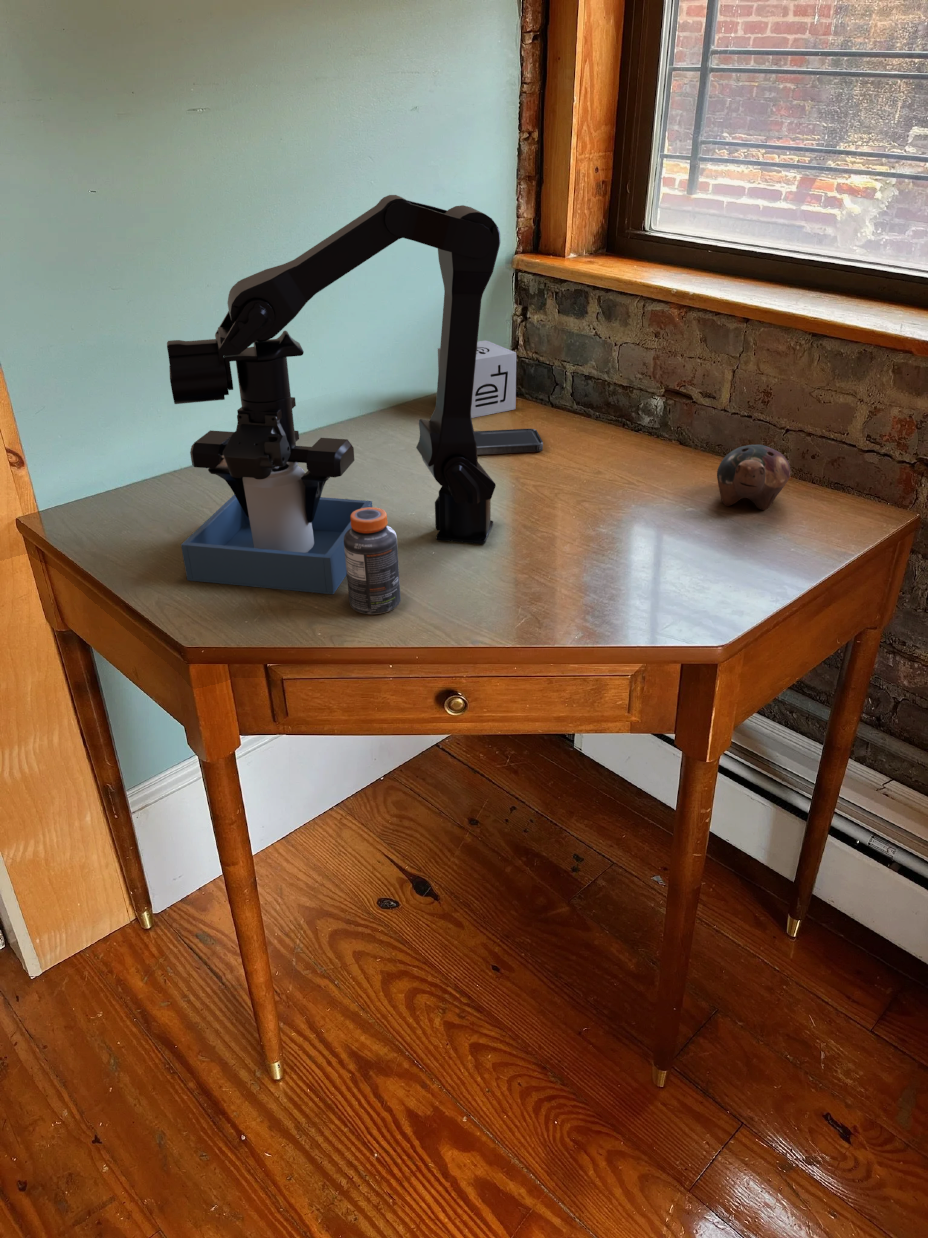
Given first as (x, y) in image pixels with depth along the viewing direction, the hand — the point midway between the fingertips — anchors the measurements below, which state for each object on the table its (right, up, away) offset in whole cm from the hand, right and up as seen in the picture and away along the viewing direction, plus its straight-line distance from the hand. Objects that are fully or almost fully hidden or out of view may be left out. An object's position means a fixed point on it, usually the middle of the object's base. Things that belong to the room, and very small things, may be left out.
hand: (280, 518), depth 118 cm
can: (0, -4, +2) cm, 5 cm away
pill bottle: (+12, -11, -8) cm, 18 cm away
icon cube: (+25, +26, +53) cm, 64 cm away
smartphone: (+27, +16, +35) cm, 48 cm away
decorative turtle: (+63, +4, +16) cm, 65 cm away
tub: (0, -4, +3) cm, 5 cm away
